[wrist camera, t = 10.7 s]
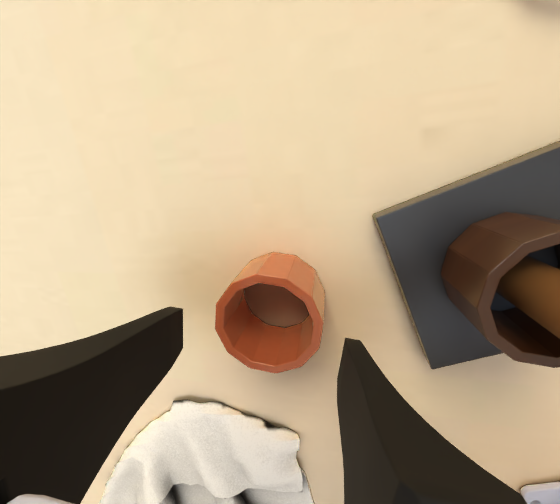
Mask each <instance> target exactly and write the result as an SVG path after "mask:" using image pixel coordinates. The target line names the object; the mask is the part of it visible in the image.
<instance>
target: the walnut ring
mask: <svg viewBox="0 0 560 504" xmlns="http://www.w3.org/2000/svg"><path fill="white" fill-rule="evenodd" d="M551 246H554V247H555V251H556V255H557V259H558V263H559V264H558V266H557V269H560V220H556V219H552V218H547V217H543V216H538V215H529V214H520V213H511V212H504V213H501V214H498V215H495V216H492V217H490V218H487V219H484V220H481V221H478V222H475V223H473V224H471V225H470V226H469V227H468V228H467V229H466V230H465V231H464V232H463V233H462V234H461V235H460V236H459V237H458V238H457V239H456V240H455V241H454V242H453V243H452V244H451V245H450V246H449V247H448V250H447V253H446V257H445V260H444V263H443V267H442V270H441V277H442V280H443V283H444V286H445V289H446V292H447V295H448V298H449V299H450V300H451V302H452V303H453V304H454V305H455V306H456V307H457V308H458V309H459V310H460V311H461V312H462V313H463V315H464V316H465V317H466V318H467V319H468V320H469V321H470V322H471V323H472V324H473V325H474V326H475V328H476V329H477V330H478V331H479V332H480V333H481V334H482V335H483V336H484V337H485V338H486V339H487V340H488V341H489V342H490V343H492V344H493V345H494V346H496V347H497V348H498V349H500V350H501V351H502V352H504V353H505V354H506V355H508V356H509V357H510V358H512V359H513V360H515V361H519V362H525V363H530V364H536V365H542V366H547V367H553V368H555V367H556V368H557V367H560V339H559V338H558V337H556V336H555V335H553V334H552V333H551V332H549V331H548V330H547V329H545V328H544V327H543V326H541V325H540V324H539V323H537V322H536V321H535V320H533V319H532V318H530V317H529V316H528V315H526V314H525V313H524V312H522V311H521V310H520V309H518V308H517V307H516V308H512V309H508V310H504V311H501V312H500V311H494V310H491V308H490V306H491V304H492V301H493V298H494V295H495V292H496V290H497V287H498V284H499V281H500V279H501V277H502V276H504V275H505V274H506V273H507V272H508V271H509V270H510V269H512V268H513V267H514V266H515V265H516V264H517V263H519V262H520V261H521V260H522V259H523V258H524V257H525V256H527V255H528V254H529V253H532V252H535V251H538V250H541V249H545V248H548V247H551Z"/></svg>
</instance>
